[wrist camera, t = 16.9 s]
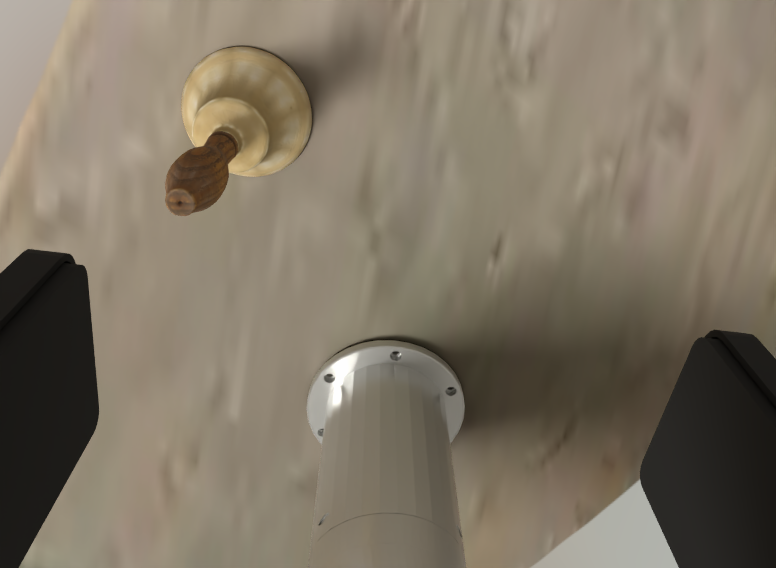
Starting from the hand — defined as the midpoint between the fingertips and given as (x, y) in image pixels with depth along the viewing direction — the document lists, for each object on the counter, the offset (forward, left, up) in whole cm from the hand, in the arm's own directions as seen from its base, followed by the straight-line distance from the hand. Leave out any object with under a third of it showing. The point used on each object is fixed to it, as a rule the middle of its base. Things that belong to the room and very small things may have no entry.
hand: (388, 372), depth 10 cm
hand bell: (-6, +8, -35) cm, 36 cm away
